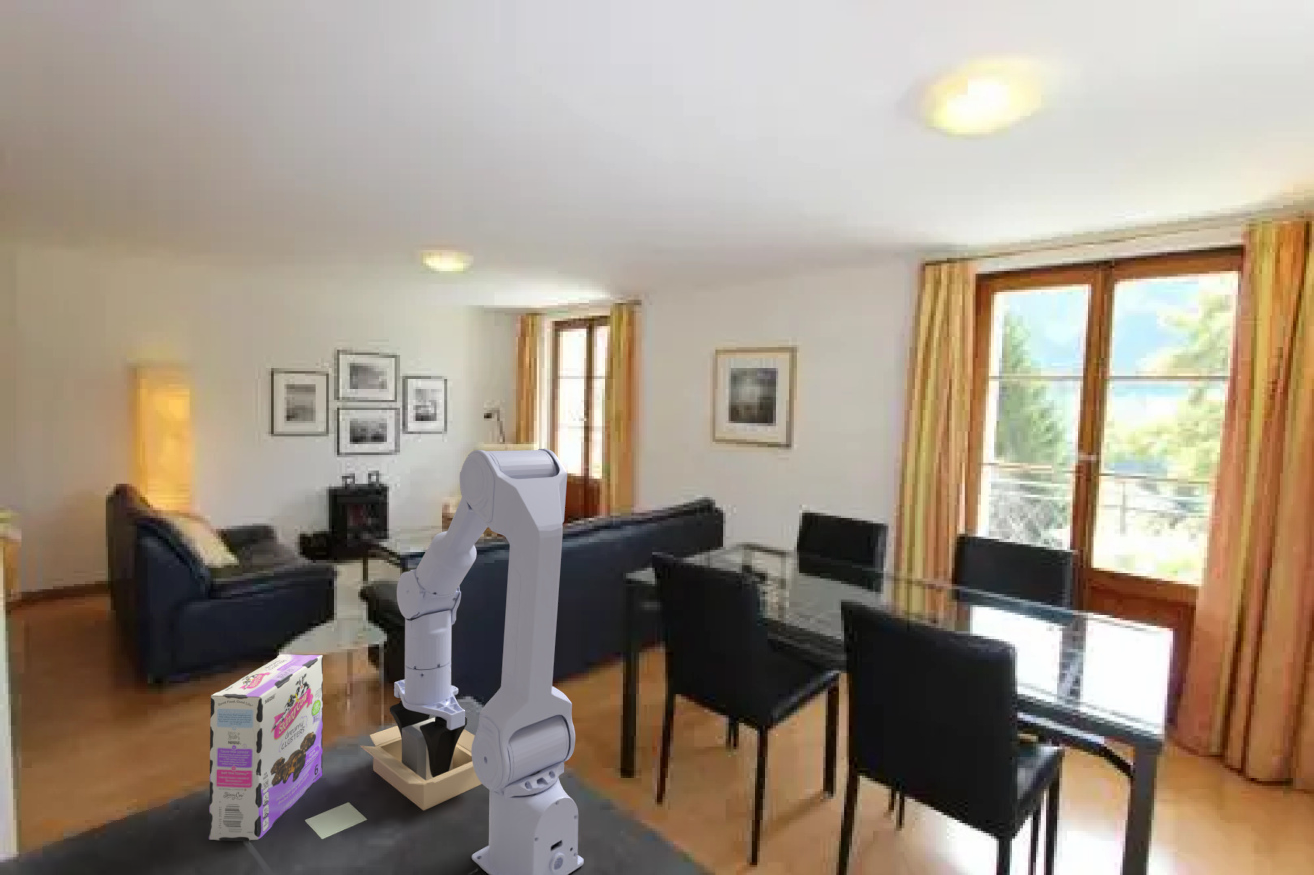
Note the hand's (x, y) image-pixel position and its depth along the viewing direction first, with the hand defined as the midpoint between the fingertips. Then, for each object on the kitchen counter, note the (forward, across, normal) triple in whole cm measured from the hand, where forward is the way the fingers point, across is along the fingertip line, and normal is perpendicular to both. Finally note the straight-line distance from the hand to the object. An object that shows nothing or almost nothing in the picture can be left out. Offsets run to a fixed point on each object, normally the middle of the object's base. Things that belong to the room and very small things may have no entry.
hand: (427, 765), depth 86 cm
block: (+2, 0, 0) cm, 2 cm away
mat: (+2, -1, +12) cm, 12 cm away
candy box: (+2, +8, +16) cm, 18 cm away
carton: (+2, 0, 0) cm, 2 cm away
